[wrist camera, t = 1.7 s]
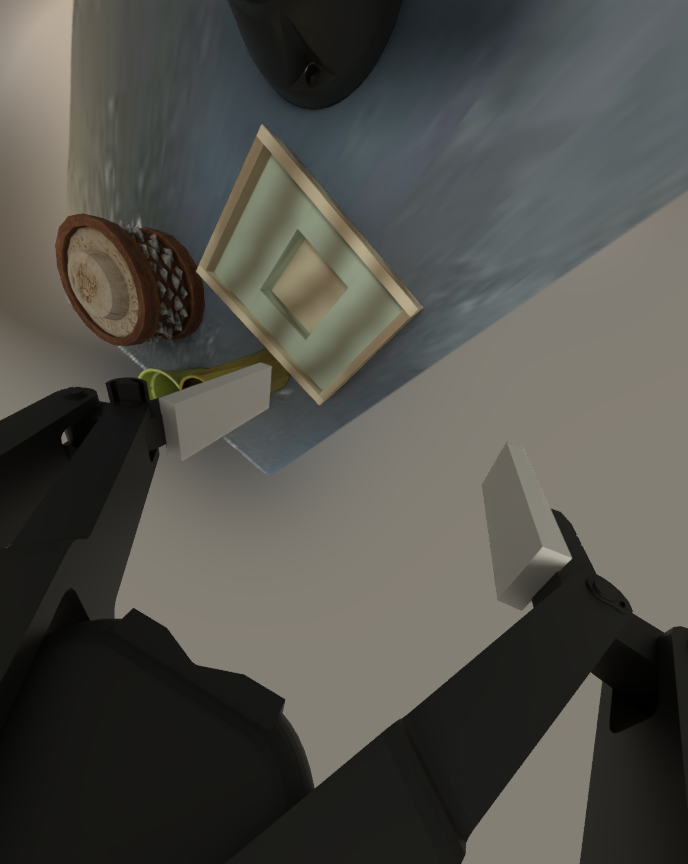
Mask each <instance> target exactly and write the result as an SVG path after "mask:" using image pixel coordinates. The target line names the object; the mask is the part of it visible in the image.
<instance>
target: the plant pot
mask: <svg viewBox="0 0 688 864" xmlns="http://www.w3.org/2000/svg"><path fill="white" fill-rule="evenodd" d="M203 370H207V369H205V368H195V369H186V370H174V371H166V370H159V369H146V370H144V371H143V372H142V373H141V374H140V375H139V377H138V378H139V379H142V380H145V381H146V382H147V385H148V391H149V397H150V400H153V399H156V398H159V397H161V396H164V395H167V394H170V393H174V392H176V391H179V386H180V382H181V380H182V379H183V378H184V377H186V376H188V375H190V374H193V373H197V372H200V371H203Z"/></svg>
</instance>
